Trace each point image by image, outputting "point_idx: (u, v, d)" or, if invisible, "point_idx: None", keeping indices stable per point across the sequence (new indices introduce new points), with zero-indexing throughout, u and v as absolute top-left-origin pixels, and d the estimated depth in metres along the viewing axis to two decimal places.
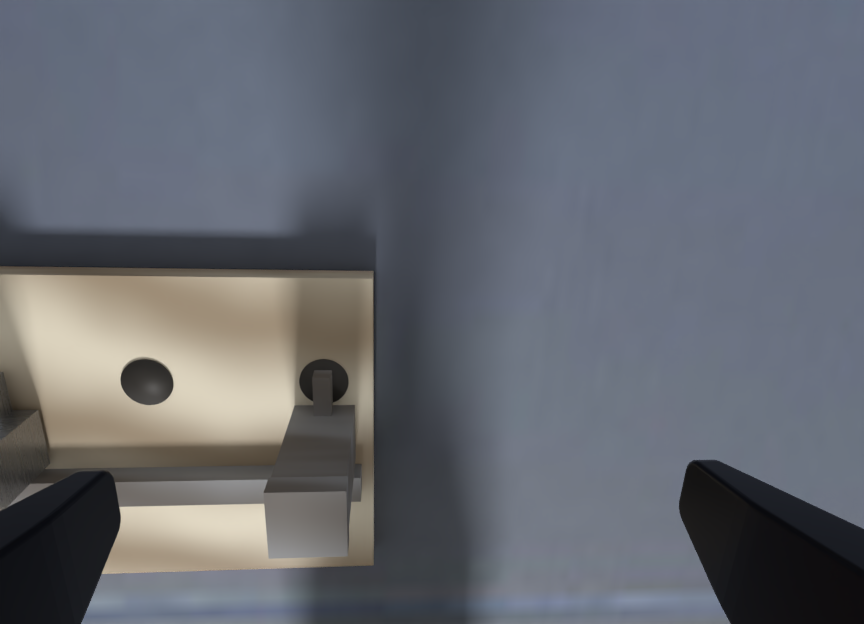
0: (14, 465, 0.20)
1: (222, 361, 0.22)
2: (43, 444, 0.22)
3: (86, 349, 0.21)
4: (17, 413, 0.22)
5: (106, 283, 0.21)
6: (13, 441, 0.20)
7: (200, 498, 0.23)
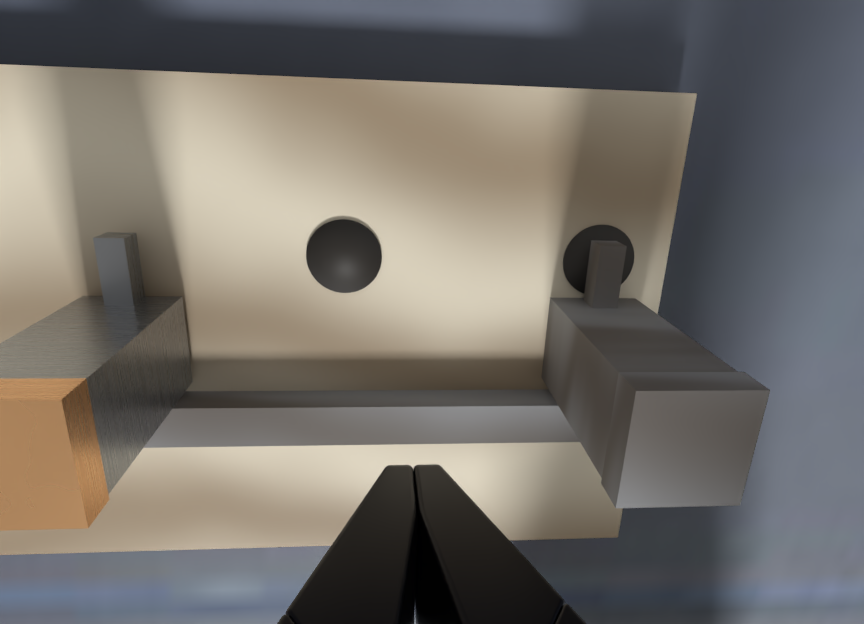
0: (160, 371, 0.13)
1: (456, 225, 0.15)
2: (186, 350, 0.15)
3: (260, 202, 0.14)
4: (153, 299, 0.14)
5: (301, 90, 0.13)
6: (159, 333, 0.13)
7: (412, 433, 0.15)
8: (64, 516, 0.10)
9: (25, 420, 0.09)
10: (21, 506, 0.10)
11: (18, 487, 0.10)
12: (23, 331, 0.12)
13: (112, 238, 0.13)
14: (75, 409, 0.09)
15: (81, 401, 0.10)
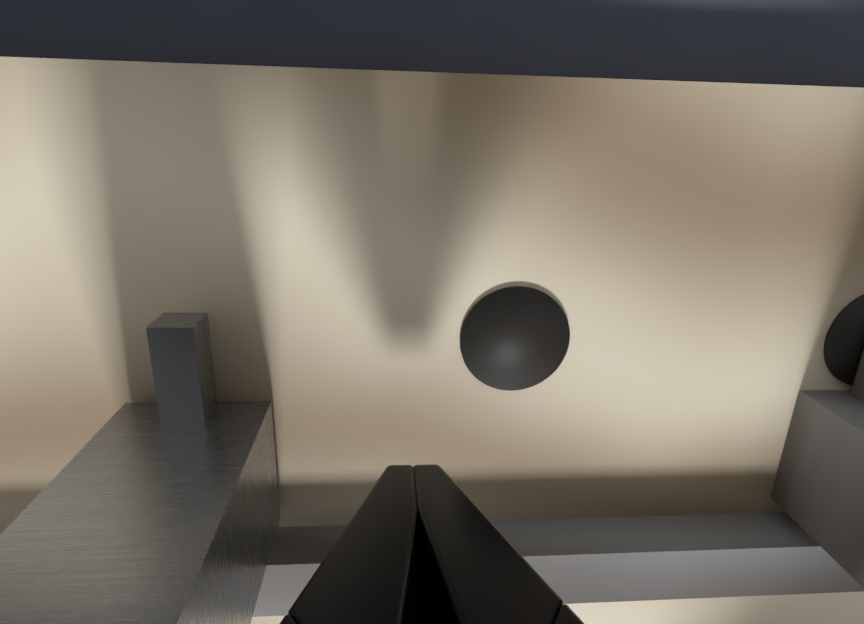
0: (251, 535, 0.08)
1: (681, 292, 0.10)
2: (274, 477, 0.10)
3: (398, 263, 0.09)
4: (230, 408, 0.09)
5: (473, 94, 0.09)
6: (250, 476, 0.08)
7: (601, 588, 0.11)
8: None
9: None
10: None
11: None
12: (39, 498, 0.07)
13: (175, 327, 0.08)
14: None
15: None
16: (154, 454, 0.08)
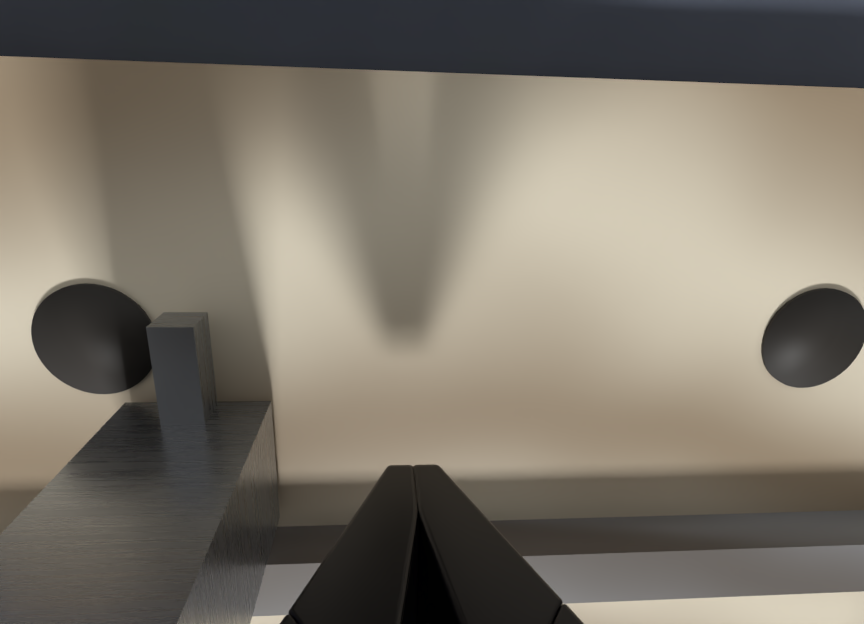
0: (251, 535, 0.08)
1: None
2: (274, 477, 0.10)
3: (721, 266, 0.10)
4: (229, 408, 0.09)
5: (819, 106, 0.09)
6: (250, 475, 0.08)
7: None
8: None
9: None
10: None
11: None
12: (39, 497, 0.07)
13: (175, 327, 0.08)
14: None
15: None
16: (154, 454, 0.08)
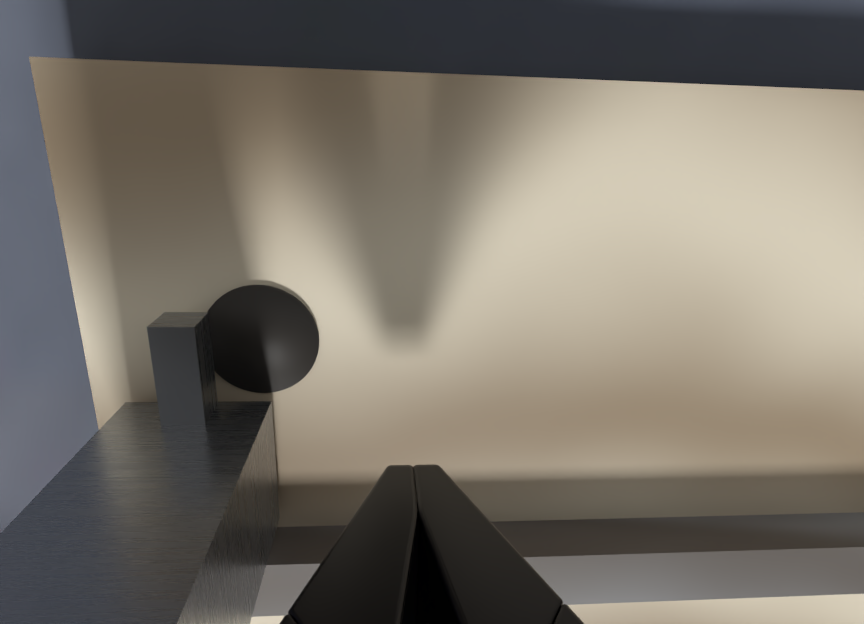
0: (251, 535, 0.08)
1: None
2: (274, 477, 0.10)
3: None
4: (230, 408, 0.09)
5: None
6: (251, 476, 0.08)
7: None
8: None
9: None
10: None
11: None
12: (39, 496, 0.07)
13: (176, 327, 0.08)
14: None
15: None
16: (154, 453, 0.08)
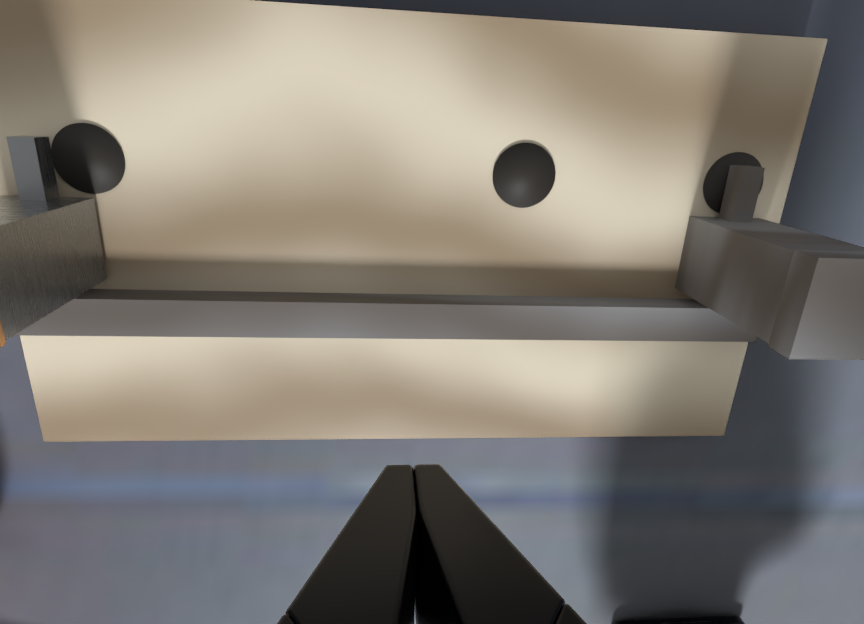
0: (66, 256, 0.15)
1: (619, 150, 0.17)
2: (98, 248, 0.17)
3: (460, 126, 0.17)
4: (65, 198, 0.16)
5: (505, 29, 0.16)
6: (65, 221, 0.15)
7: (571, 330, 0.18)
8: None
9: None
10: None
11: None
12: None
13: (24, 137, 0.15)
14: None
15: None
16: (9, 204, 0.15)
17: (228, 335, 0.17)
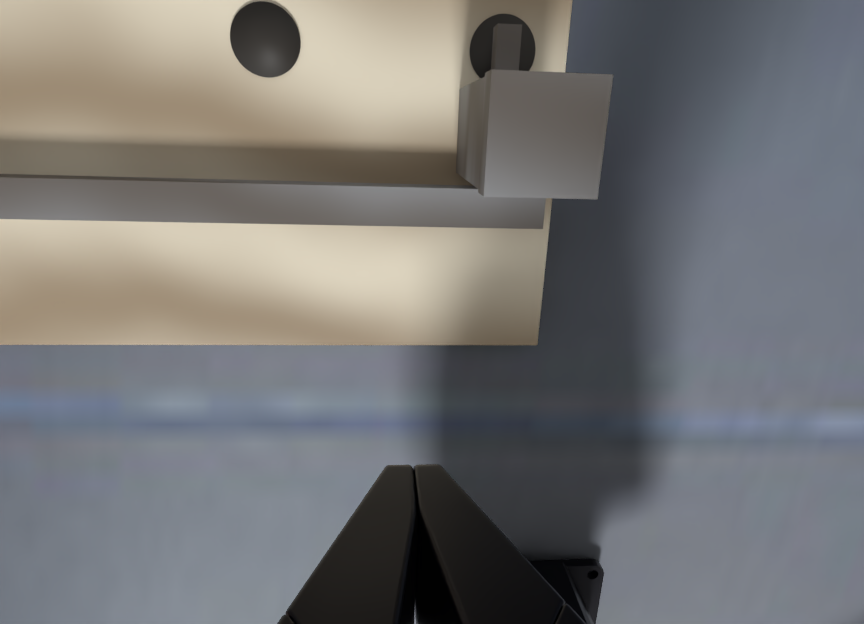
0: None
1: (368, 11, 0.16)
2: None
3: None
4: None
5: None
6: None
7: (332, 214, 0.17)
8: None
9: None
10: None
11: None
12: None
13: None
14: None
15: None
16: None
17: None
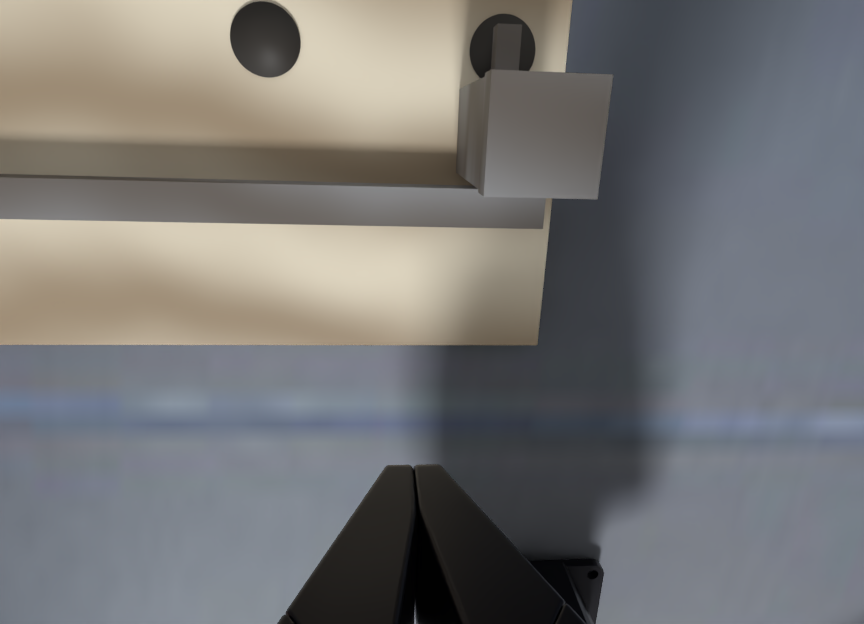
0: None
1: (368, 11, 0.16)
2: None
3: None
4: None
5: None
6: None
7: (332, 214, 0.17)
8: None
9: None
10: None
11: None
12: None
13: None
14: None
15: None
16: None
17: None
